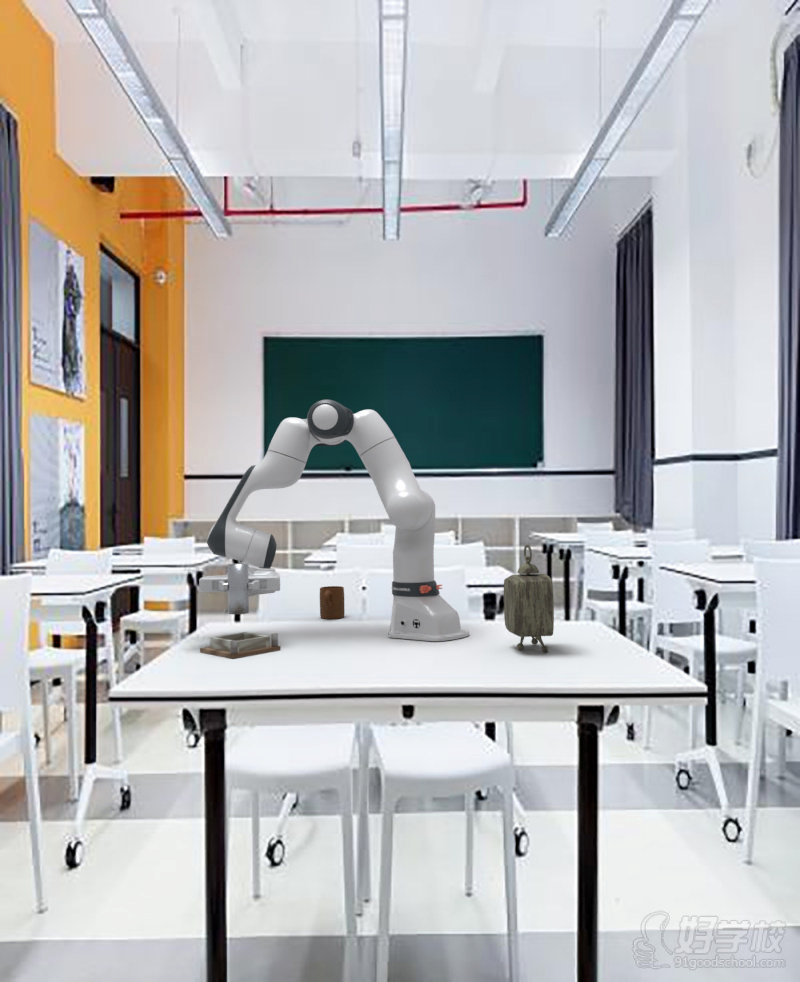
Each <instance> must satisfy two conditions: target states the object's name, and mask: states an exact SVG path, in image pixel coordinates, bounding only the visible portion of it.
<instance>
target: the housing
mask: <svg viewBox="0 0 800 982" xmlns="http://www.w3.org/2000/svg"><path fill="white" fill-rule="evenodd" d="M270 635H271V636H270ZM270 635H265V634H261V633H260V634H259V633H252V632H246V631H244V632H238V633H237V632H236V633H232V634H224V635H220V636H219V635H218V636H213V637H210V638H209V643H210V644H209V646H206V647H200V648H199V653H202V654H208V655H213V656H217V657H221V658H228V659H232V660H236V659H239V658H245V657H250V656H257V655H260V654H261V655H262V654H267V653H272V652H278V651H281V645H279V637H278V635H279V633H277V632H276V633H275V632H274V633H271V634H270Z"/></svg>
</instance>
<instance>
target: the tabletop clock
mask: <svg viewBox="0 0 800 982" xmlns="http://www.w3.org/2000/svg"><path fill="white" fill-rule="evenodd" d="M527 549H528V552H529V556H528V555H527ZM523 557H524V558H523V559H524V561H525V563H523V564H521V565H520V566H519V568H518V570H517V574H512V575H510V576H507V577H506V578H504V579H503V615H504V626H505V628H506V630H507V631H508V632H509V633H511V634H513V635H515V636H517V637H519V638H520V640H519V641H520V642H519V643H517V645H516V648H517V649H518V650H520V651H523V649H524V647H525V645H524V639H525V638H527V637H531V638H532V639H531V641H530V642H531V644H532V645H535V646H536V645H538V644H540V646H541V652H542V653H543V654H545V653H548V652H549V646H547V645H545V644H544V641H543V639H542V637H551V636H553V635H554V630H555V629H554V628H555V626H554V624H555V623H554V622H555V619H554V618H555V617H554V616H555V614H554V613H555V608H554V607H555V605H554V604H555V603H554V589H553V580H552V579H551V577H550V576H549V575H547V574H546V573H540V571H539V568H538V567H537V566H536V565H535V564H533V563H531V562H532V559H533V552H532V547H531V545H529V544H525V545H524V548H523ZM538 642H539V643H538Z"/></svg>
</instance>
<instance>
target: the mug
mask: <svg viewBox="0 0 800 982" xmlns="http://www.w3.org/2000/svg"><path fill="white" fill-rule="evenodd" d="M319 613H320V614H319V616H320V618H321V619H323V620H339V619H343V618H345V588H344V586H340V585H336V586H335V585H334V586H333V585H330V586H328V585H327V586H321V587H319Z"/></svg>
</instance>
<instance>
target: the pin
mask: <svg viewBox="0 0 800 982" xmlns="http://www.w3.org/2000/svg"><path fill="white" fill-rule="evenodd" d="M227 573H228V592H227V607H228V608H227V612H228V614H229V615H245V614H249V613H250V600H249V599H250V597H249V590H248V587H249V586H248V583H249V582H248V564H245V563H240V562H238V563H228V564H227Z"/></svg>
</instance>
